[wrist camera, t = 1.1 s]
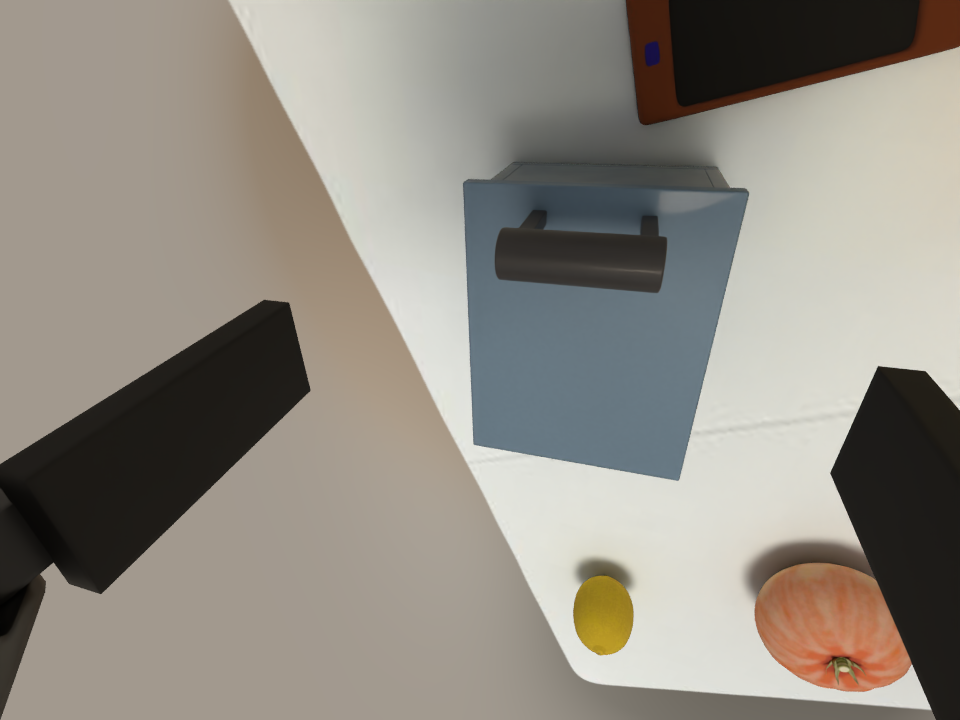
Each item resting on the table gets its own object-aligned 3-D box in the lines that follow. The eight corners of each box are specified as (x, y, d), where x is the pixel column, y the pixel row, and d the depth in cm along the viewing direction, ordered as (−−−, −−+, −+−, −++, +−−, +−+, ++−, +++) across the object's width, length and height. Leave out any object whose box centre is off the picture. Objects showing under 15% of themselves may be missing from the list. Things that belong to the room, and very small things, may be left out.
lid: (467, 178, 25) (407, 217, 19) (747, 187, 21) (784, 238, 15) (476, 437, 33) (437, 521, 27) (678, 472, 30) (685, 576, 24)
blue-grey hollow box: (512, 162, 33) (468, 195, 25) (717, 167, 30) (742, 206, 22) (511, 363, 41) (476, 437, 33) (672, 383, 38) (678, 471, 30)
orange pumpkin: (802, 636, 47) (827, 730, 40) (720, 570, 46) (731, 655, 39) (924, 598, 41) (977, 701, 34) (834, 521, 40) (870, 612, 33)
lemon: (597, 549, 49) (588, 625, 43) (646, 577, 49) (644, 657, 43) (568, 575, 52) (556, 650, 46) (614, 602, 52) (609, 680, 46)
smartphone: (623, -17, 26) (1001, -153, 20) (624, -15, 27) (988, -145, 21) (639, 128, 29) (971, 45, 23) (640, 126, 30) (961, 45, 24)
